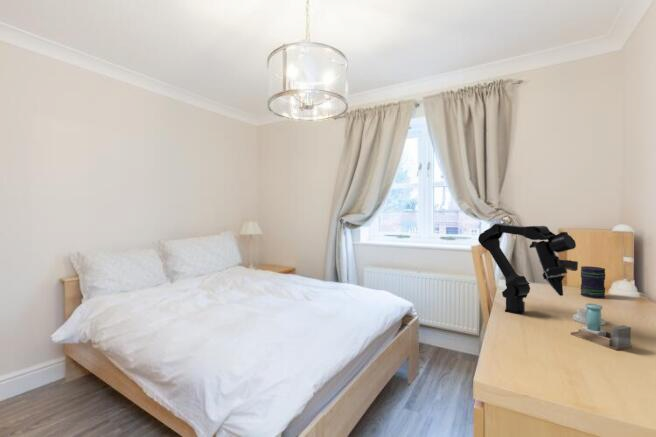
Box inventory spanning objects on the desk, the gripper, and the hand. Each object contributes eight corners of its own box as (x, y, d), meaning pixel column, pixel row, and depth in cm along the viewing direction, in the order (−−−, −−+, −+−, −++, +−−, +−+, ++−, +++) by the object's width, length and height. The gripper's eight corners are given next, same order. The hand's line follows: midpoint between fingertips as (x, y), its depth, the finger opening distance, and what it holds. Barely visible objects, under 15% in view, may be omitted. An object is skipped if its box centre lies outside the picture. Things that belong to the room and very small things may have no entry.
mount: (570, 334, 111) (570, 315, 110) (585, 331, 113) (585, 313, 113) (616, 350, 97) (616, 329, 97) (632, 347, 100) (632, 327, 99)
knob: (581, 334, 109) (581, 303, 108) (590, 332, 110) (590, 302, 110) (597, 339, 104) (597, 308, 104) (606, 338, 105) (606, 306, 105)
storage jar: (600, 295, 164) (601, 267, 164) (608, 299, 155) (609, 270, 155) (577, 293, 168) (577, 265, 168) (583, 297, 159) (584, 268, 159)
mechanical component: (582, 324, 121) (611, 326, 119) (582, 313, 121) (612, 315, 118) (568, 316, 130) (595, 318, 128) (568, 306, 130) (595, 307, 128)
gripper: (575, 247, 112) (592, 291, 106) (567, 254, 127) (582, 293, 122) (539, 254, 117) (554, 296, 111) (536, 260, 132) (549, 297, 127)
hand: (561, 295), depth 118 cm, fingers closed
